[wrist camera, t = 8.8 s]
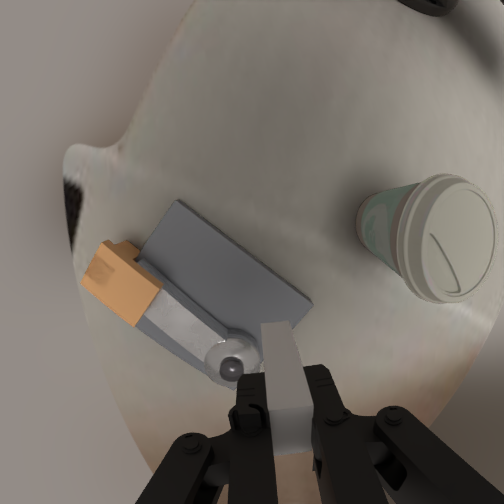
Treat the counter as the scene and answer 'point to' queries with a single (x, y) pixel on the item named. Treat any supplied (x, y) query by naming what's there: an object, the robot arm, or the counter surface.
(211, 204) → the counter surface
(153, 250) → the board
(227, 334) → the link
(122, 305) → the block
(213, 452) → the robot arm
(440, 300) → the coffee cup
